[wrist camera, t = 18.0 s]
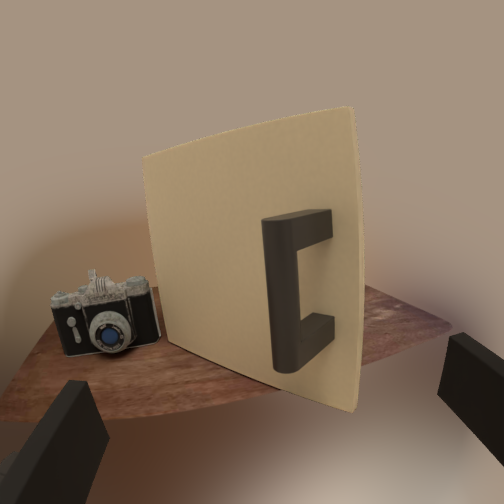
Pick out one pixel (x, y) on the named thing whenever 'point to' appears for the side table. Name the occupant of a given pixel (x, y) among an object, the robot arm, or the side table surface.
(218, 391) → the side table surface
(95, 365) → the side table surface
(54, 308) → the camera
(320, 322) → the cupboard door
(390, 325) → the side table surface
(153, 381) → the side table surface
